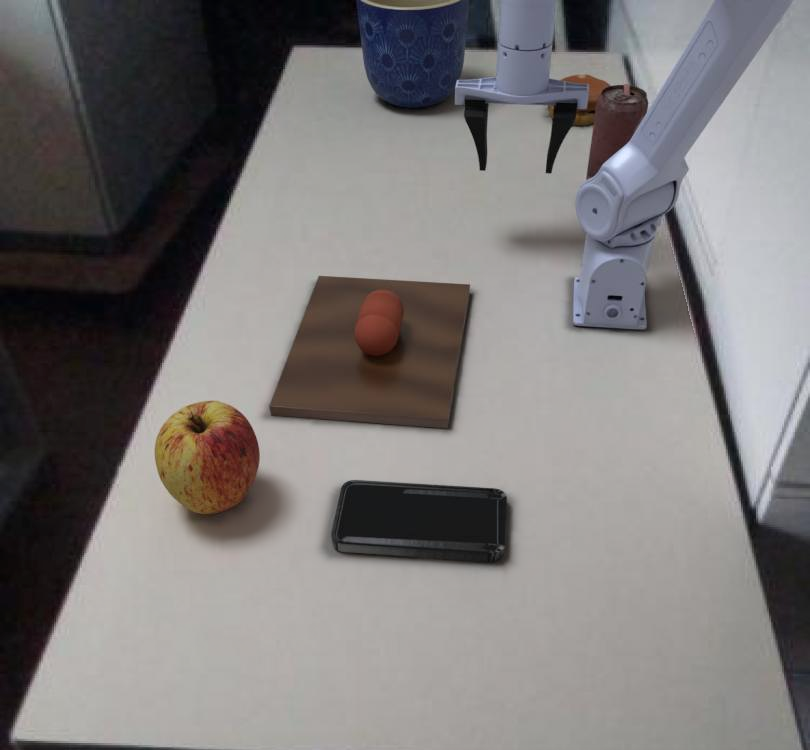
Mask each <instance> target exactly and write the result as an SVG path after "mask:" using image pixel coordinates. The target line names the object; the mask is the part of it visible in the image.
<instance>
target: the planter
mask: <svg viewBox="0 0 810 750" xmlns="http://www.w3.org/2000/svg"><path fill="white" fill-rule="evenodd" d="M355 2H356V3H355V4H356V9H357V18H358V19H357V20H358V26H359V34H360V43H361V51H362V60H363V66H364V71H365V75H366V77H367V81H368V83H369V85H370V86H371V88H372V90H373V91H374V93H375V94H376V95H377V96H378V97H379V98H380V99H381V100H383V101H384V102H386V103H388V104H390V105H392V106H396V107H400V108H408V109H409V108H411V109H416V108H417V109H419V108H425V107H426V108H427V107H430V106H435V105H436V104H438V103H441V102H442V101H444V100H445V99H447V98H448V97H449V96H450V95H451V94H452V93H453V92H454V91H455V86H456V82H457V80H461V77H462V73H463V69H464V64H465V55H466V54H465V53H466V44H467V34H468V33H467V32H468V22H469V21H468V20H469V12H470V11H469V9H470V0H355Z"/></svg>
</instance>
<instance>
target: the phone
mask: <svg viewBox="0 0 810 750" xmlns="http://www.w3.org/2000/svg"><path fill="white" fill-rule="evenodd" d="M507 497H508V496H507V494H506V493H505V492H504V491H503V490H502V489H499V488H494V487H480V486H463V485H445V484H428V483H414V482H413V483H411V482H397V481H379V480H364V479H350V480H347V481H345V482H344V483H343V484H342V485H341V487H340V491H339V496H338V500H337V505H336V510H335V515H334V519H333V523H332V529H331V532H330V537H331V538H330V539H331V543H332V547H333V548H334V549H335V550H336V551H338V552H341V553H354V554H368V555H369V554H370V555H380V556H381V555H382V556H384V555H385V556H398V557H412V558H425V559H426V558H427V559H440V560H441V559H443V560H456V561H469V562H470V561H471V562H484V563H495V562H498V561H500V560H501V559H502V558H503V557H504V555H505V547H506V529H507V527H506V526H507V504H508V503H507V502H508V498H507Z"/></svg>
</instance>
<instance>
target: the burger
mask: <svg viewBox="0 0 810 750" xmlns="http://www.w3.org/2000/svg"><path fill="white" fill-rule="evenodd" d="M560 80H561V81H567V82H573V83H581V84H589V96H588V104H587V109H577V110H576V119H575V121H574V123H573V126H588V125H591V124H594V118H595V111H596V104H597V99H598V98H599V96H600V95H601V92H602V90H603V89H605V88H606V87H609V86H612V85H611V84H609V83H608V82H607V81H605V80H603V79H600V78H596V77H595V76H592V75H590V74H573V75H569V76H565V77H563V78H561V79H560ZM553 109H554V106H550V105H547V110H548V114H549V117H550V118H551V119H553Z"/></svg>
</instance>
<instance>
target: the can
mask: <svg viewBox="0 0 810 750" xmlns="http://www.w3.org/2000/svg"><path fill="white" fill-rule="evenodd" d="M648 110H649V100H648V93H647V92H646V90H644V89H642V88H641V87H638V86H634V85H630V84H629V83H624V84H614V85H611V86H609V87H606V88H605V89H603V90H602V92H601V95H600V96H599V98H598V99H597V104H596V111H595V118H594V123H593V127H592V132H591V133H592V135H591V141H590V148H589V154H588V161H587V170H586V177H585V181H586V180H588V179H590V178H592V177H594V176H595V175H596V174H597V173H598V171H599V170H600V168H601V166H602V165H603V164H604V163H605V162H606V161H607V160H608V159H609V158H611V157H612V156H613V155H614V154H615V153H617V152H618V151H619V150H620V149H621V148H623V147H624V146H625V145H626V144H627V143H628V142H629V141H630V140H631V138H632V136H633V135H634V133H635V131H636V130H637V128H638V126H639V125H640V123H641V121H642V120H643V118H644V116H645V115H646V113H647V111H648Z"/></svg>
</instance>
